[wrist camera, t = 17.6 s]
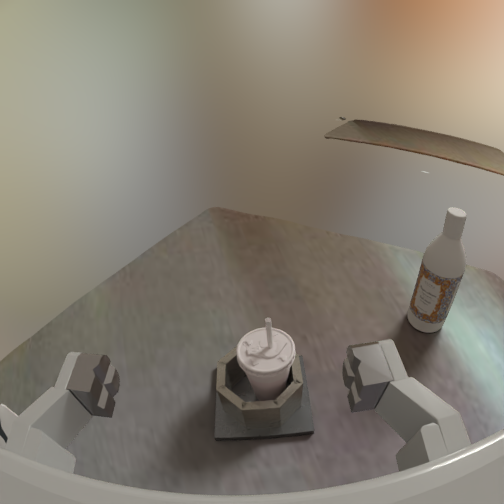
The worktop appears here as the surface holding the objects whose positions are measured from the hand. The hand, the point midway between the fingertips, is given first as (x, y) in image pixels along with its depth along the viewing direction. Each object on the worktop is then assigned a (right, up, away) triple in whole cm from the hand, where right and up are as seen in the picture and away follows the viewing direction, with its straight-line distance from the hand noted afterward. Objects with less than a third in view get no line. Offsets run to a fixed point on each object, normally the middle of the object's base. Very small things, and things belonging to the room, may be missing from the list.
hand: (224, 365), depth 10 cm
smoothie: (+3, -15, +28) cm, 32 cm away
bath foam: (+30, -8, +36) cm, 47 cm away
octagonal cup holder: (+2, -16, +28) cm, 32 cm away
